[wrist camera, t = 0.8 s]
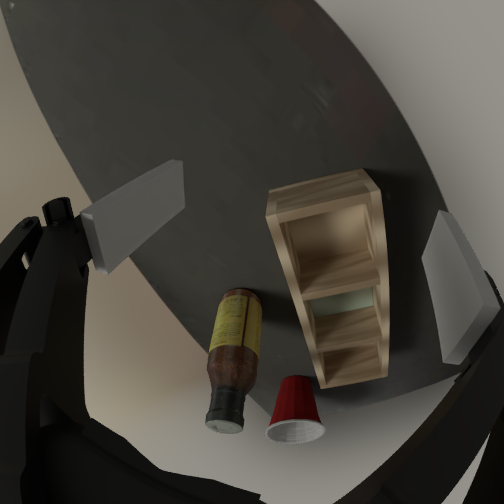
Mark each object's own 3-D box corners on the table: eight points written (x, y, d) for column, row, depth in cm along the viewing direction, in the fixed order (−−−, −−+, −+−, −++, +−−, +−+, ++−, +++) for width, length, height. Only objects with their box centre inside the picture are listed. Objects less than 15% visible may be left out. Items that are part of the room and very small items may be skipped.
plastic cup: (335, 379, 52) (338, 432, 42) (298, 399, 57) (297, 447, 47) (294, 360, 49) (292, 419, 39) (258, 383, 54) (252, 435, 44)
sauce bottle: (215, 307, 44) (182, 425, 27) (231, 279, 40) (198, 408, 24) (253, 323, 45) (236, 441, 28) (272, 297, 41) (260, 427, 25)
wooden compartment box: (269, 190, 33) (265, 216, 27) (362, 168, 30) (380, 189, 24) (319, 355, 48) (320, 388, 42) (380, 343, 45) (387, 376, 39)
